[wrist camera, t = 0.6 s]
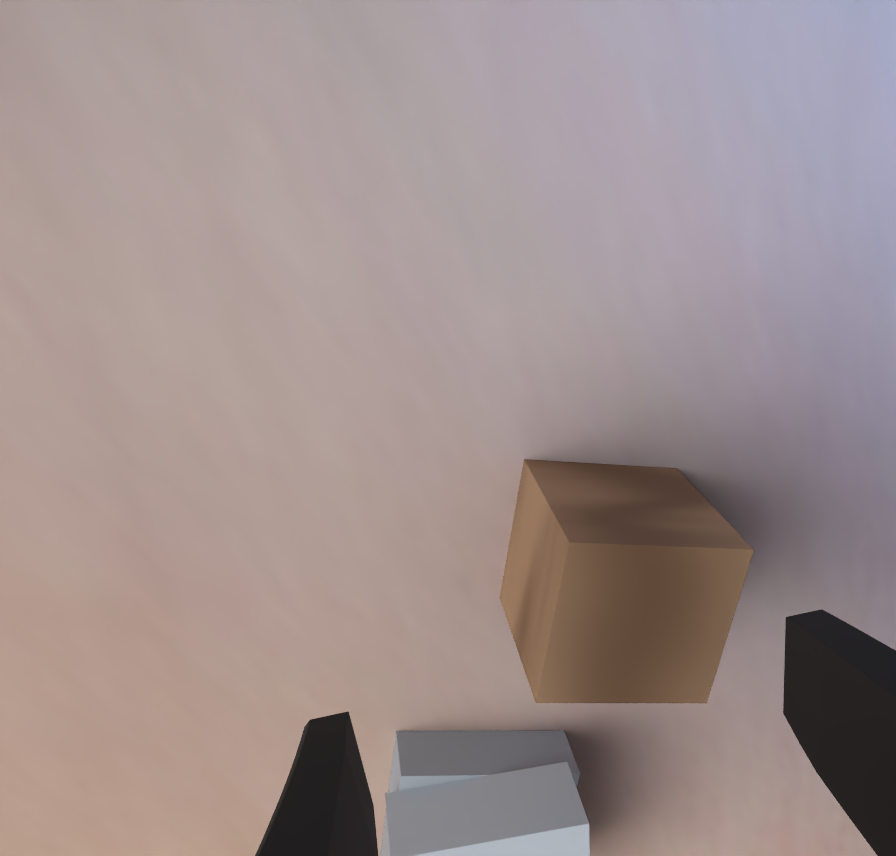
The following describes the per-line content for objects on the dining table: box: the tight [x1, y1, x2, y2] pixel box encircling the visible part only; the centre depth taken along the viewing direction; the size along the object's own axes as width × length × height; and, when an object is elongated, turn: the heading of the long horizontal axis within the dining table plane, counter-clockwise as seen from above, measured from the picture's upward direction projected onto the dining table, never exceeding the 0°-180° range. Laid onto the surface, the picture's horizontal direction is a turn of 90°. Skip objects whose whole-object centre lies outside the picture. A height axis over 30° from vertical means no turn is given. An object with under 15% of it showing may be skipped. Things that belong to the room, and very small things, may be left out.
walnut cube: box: [500, 460, 754, 703], centre depth 21 cm, size 4×4×4 cm
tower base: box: [380, 730, 580, 856], centre depth 25 cm, size 6×6×2 cm
